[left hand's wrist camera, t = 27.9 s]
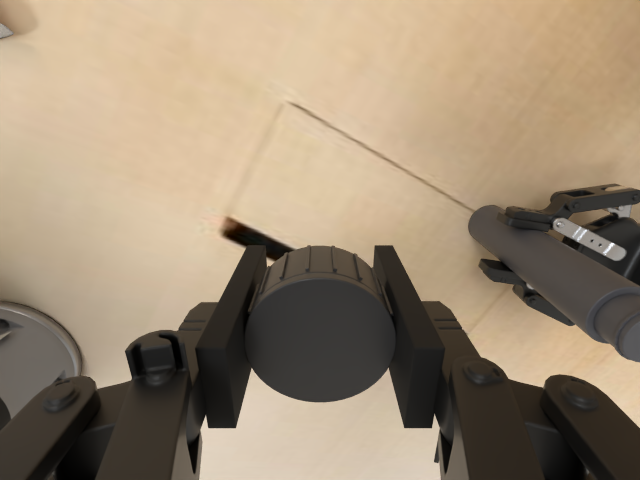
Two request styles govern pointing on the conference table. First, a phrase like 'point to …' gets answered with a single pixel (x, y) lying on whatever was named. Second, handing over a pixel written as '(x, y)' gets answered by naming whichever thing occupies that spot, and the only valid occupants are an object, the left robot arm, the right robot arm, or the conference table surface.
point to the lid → (320, 325)
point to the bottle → (566, 280)
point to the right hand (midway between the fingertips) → (492, 242)
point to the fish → (5, 31)
